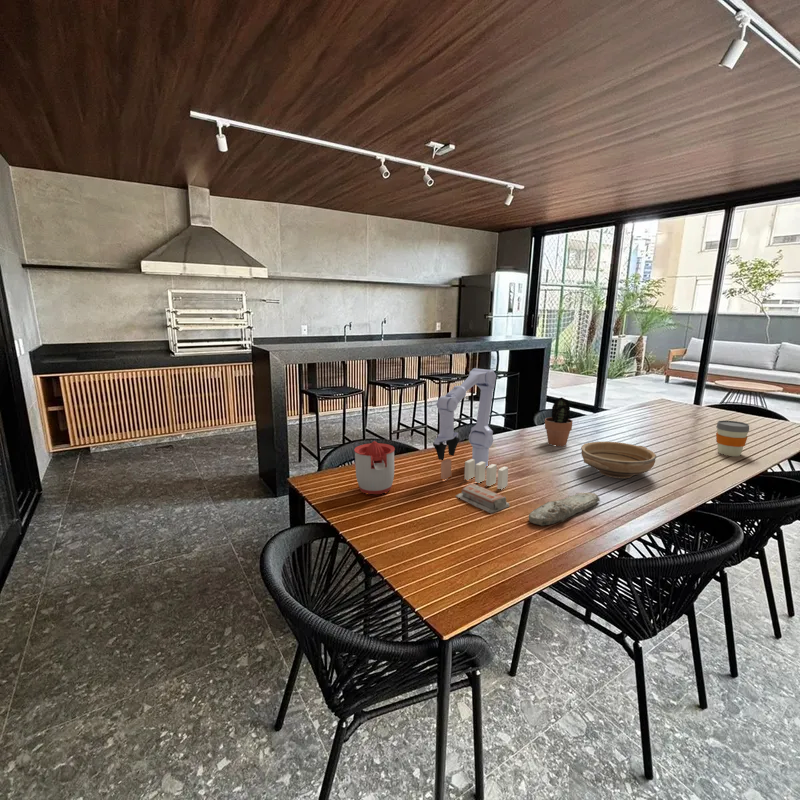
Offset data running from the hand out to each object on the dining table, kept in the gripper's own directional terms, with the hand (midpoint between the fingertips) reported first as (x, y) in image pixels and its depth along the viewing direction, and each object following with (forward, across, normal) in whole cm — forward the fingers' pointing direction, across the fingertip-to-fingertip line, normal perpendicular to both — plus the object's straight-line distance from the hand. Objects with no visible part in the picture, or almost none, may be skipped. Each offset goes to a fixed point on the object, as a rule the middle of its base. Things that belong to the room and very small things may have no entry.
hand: (446, 457), depth 178 cm
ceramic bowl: (+10, -51, +52) cm, 74 cm away
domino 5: (+9, -6, +23) cm, 25 cm away
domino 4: (+9, -6, +18) cm, 21 cm away
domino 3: (+9, -6, +13) cm, 17 cm away
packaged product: (+10, +10, +23) cm, 27 cm away
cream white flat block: (+9, -6, +8) cm, 14 cm away
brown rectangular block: (+10, 0, 0) cm, 10 cm away
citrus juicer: (+10, +28, -14) cm, 33 cm away
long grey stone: (+10, -1, +49) cm, 50 cm away
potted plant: (+10, -78, +17) cm, 81 cm away
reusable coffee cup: (+10, -114, +88) cm, 144 cm away
